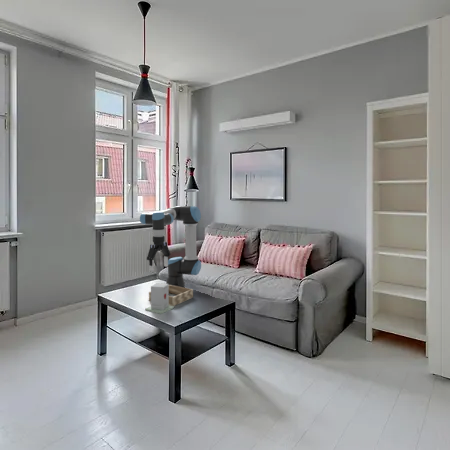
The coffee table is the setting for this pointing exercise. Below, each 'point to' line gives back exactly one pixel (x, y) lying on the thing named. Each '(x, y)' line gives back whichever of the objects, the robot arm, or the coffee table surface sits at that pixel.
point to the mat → (160, 310)
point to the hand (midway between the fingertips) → (159, 268)
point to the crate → (178, 295)
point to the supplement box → (159, 296)
